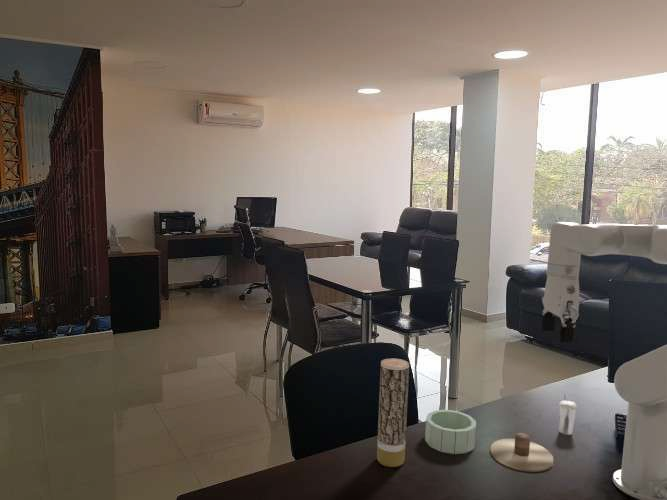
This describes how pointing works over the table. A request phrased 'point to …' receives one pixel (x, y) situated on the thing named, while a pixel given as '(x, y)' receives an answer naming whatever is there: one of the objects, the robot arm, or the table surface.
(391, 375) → the log-textured cylinder
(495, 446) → the lid
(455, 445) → the bowl
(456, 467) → the table surface
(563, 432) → the milkshake
